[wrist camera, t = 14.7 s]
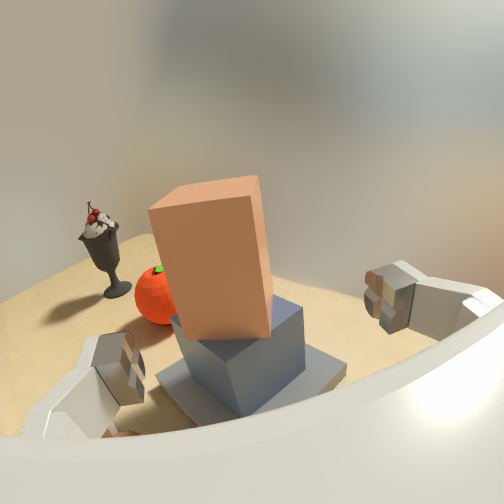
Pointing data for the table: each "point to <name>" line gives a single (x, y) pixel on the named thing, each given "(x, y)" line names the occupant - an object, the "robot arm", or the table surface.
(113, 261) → the sundae
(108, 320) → the table surface
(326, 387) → the tower base
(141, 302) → the clementine
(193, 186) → the terracotta brick
